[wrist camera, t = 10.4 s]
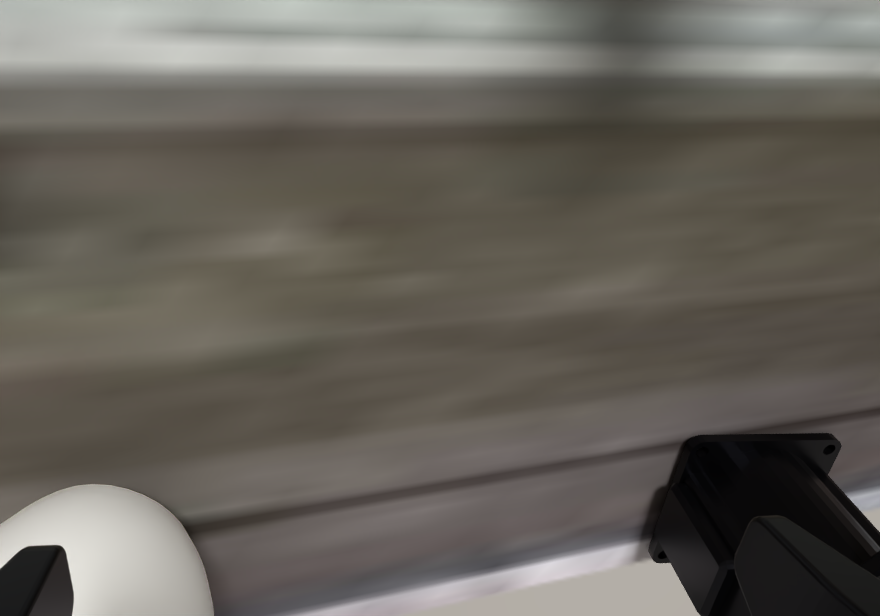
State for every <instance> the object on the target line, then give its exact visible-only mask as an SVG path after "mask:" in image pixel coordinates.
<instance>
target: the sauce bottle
mask: <svg viewBox="0 0 880 616" xmlns="http://www.w3.org/2000/svg"><path fill="white" fill-rule="evenodd" d="M39 545H60V546H62V547H63V548H64V549H65V551H66V555H67V560H68V565H69V570H70V575H71V581H72V586H73V591H74V605H73V612H72V616H214V609H213V602H212V597H211V592H210V588H209V584H208V579H207V576H206V572H205V568H204V566H203V563H202V560H201V558H200V555H199V553H198V551H197V549H196V547H195V545H194V544H193V542H192V540H191V539H190V537H189V535H188V534H187V532H186V530H185V528H184V527H183V525H182V524H181V522H180V521H179V520H178V519H177V518H176V517H175V516H174V515H173V514H172V513H171V512H170V511H169V510H168V509H166V508H165V507H163V506H162V505H161V504H159V503H158V502H156V501H154V500H153V499H151V498H149V497H147V496H145V495H143V494H140V493H138V492H135V491H132V490H130V489H126V488H122V487H117V486H113V485H103V484H87V485H77V486H73V487H69V488H65V489H62V490H58V491H56V492H54V493H51V494H49V495H47V496H45V497H43V498H41V499H39V500H37V501H35V502H33V503H32V504H30V505H28V506H27V507H25V508H24V509H22V510H21V511H19V512H18V513H16V514H15V515H13V516H12V517H10V518H9V519H7V520H6V521H4V522H3V523H1V524H0V568H2V567H3V566H4V565H5V564H6V563H7V562H8V561H9V560H10V559H11V558H12V557H13V556H14V555H15V554H16V553H17V552H19V551H20V550H21V549H23V548H25V547H27V546H39Z"/></svg>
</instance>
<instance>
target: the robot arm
mask: <svg viewBox="0 0 880 616" xmlns="http://www.w3.org/2000/svg"><path fill="white" fill-rule="evenodd" d="M701 447H702V448H701ZM700 448H701V449H700ZM698 449H699V450H698ZM840 449H841V443H840V442H839V441H838V440H837V439H836V438H835V437H834V436H833V435H832V434H829V433H811V434H739V435H698V436H695V437H693V438H691V439H690V440H689V441H688V442H687V444H686V445H685V448H684V451H683V454H682V456H681V459H680V462H679V465H678V468H677V470H676V473H675V476H674V479H673V481H672V484H671V487H670V489H669V492H668V494H667V497H666V500H665V503H664V506H663V508H662V511H661V514H660V517H659V519H658V522H657V525H656V528H655V531H654V534H653V537H652V540H651V543H650V545H649V549H648V551H649V553H650V555H651V557H652V559H653V561H655V562H656V563H671V565H672V566H673V568H674V570H675V572H676V574H677V576H678V577H679V579H680V581H681V583H682V585H683V586H684V588H685V590H686V592H687V594H688V596H689V597H690V599H691V601H692V603H693V605H694V606H695V608H696V610H697V612H698V613H699V614H700V615H701V616H880V532H879V531H878V530H877V529H876V528H875V527H874V526H873V524H872V523H871V522H870V521H869V520H868V519H867V518H866V517H865V516H864V515H863V513H862V512H861V511H860V510H859V509H858V508H857V507H856V506H855V505H854V504H853V502H852V501H851V500H850V499H849V498H848V497H847V496H846V495H845V494H844V492H843V491H842V490H841V489H840V488H839V487H838V486H837V485H836V484H835V483H834V481H833V480H832V479H831V478H830V477H829V476H828V473H829V471H830V469H831V467H832V465H833V463H834V461H835V459H836V457H837V455H838V453H839V451H840ZM73 605H74V591H73V586H72V581H71V575H70V570H69V565H68V560H67V555H66V551H65V549H64V548H63V547H62V546H60V545H39V546H27V547H25V548H23V549H21V550H20V551H19V552H17V553H16V554H15V555H14V556H13V557H12V558H11V559H10V560H9V561H8V562H7V563H6V564H5V565H4V566H3V567H2V568H0V616H72V612H73Z"/></svg>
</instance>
